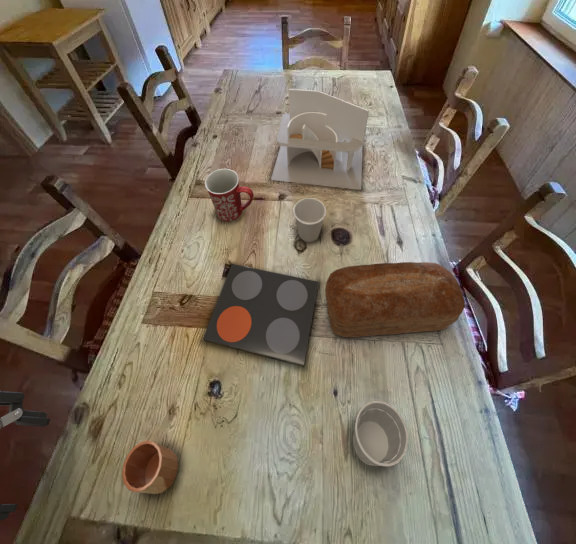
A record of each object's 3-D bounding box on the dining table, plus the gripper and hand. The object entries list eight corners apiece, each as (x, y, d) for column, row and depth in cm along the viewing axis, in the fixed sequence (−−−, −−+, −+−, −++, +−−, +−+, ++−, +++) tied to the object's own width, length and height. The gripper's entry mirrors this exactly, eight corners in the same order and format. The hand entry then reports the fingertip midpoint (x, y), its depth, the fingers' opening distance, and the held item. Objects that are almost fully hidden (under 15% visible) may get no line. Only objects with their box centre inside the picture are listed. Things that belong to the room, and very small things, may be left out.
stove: (303, 367, 70) (303, 364, 69) (204, 341, 74) (202, 338, 73) (318, 284, 82) (318, 281, 81) (232, 266, 86) (231, 263, 85)
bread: (320, 290, 81) (323, 259, 71) (436, 281, 82) (455, 249, 72) (328, 344, 73) (332, 318, 63) (457, 334, 73) (482, 306, 63)
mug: (208, 221, 96) (198, 190, 87) (221, 197, 103) (213, 165, 93) (250, 230, 94) (244, 199, 84) (261, 205, 100) (256, 174, 91)
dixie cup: (315, 215, 97) (316, 193, 90) (330, 238, 91) (332, 216, 84) (288, 226, 94) (287, 204, 87) (302, 250, 89) (302, 228, 82)
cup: (338, 441, 61) (344, 430, 53) (366, 404, 65) (376, 388, 57) (375, 486, 57) (387, 482, 48) (402, 443, 61) (418, 433, 52)
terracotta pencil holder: (168, 498, 57) (149, 497, 50) (137, 487, 58) (114, 484, 51) (183, 453, 61) (168, 446, 54) (154, 444, 62) (135, 436, 55)
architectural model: (270, 179, 107) (264, 120, 91) (283, 136, 122) (280, 79, 106) (361, 189, 103) (372, 129, 87) (362, 143, 118) (372, 85, 102)
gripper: (-192, 557, 31) (11, 542, 39) (-76, 375, 41) (66, 393, 49) (-191, 554, 34) (-6, 541, 42) (-85, 388, 45) (48, 403, 53)
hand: (32, 462), depth 46 cm, fingers open, 8 cm apart
